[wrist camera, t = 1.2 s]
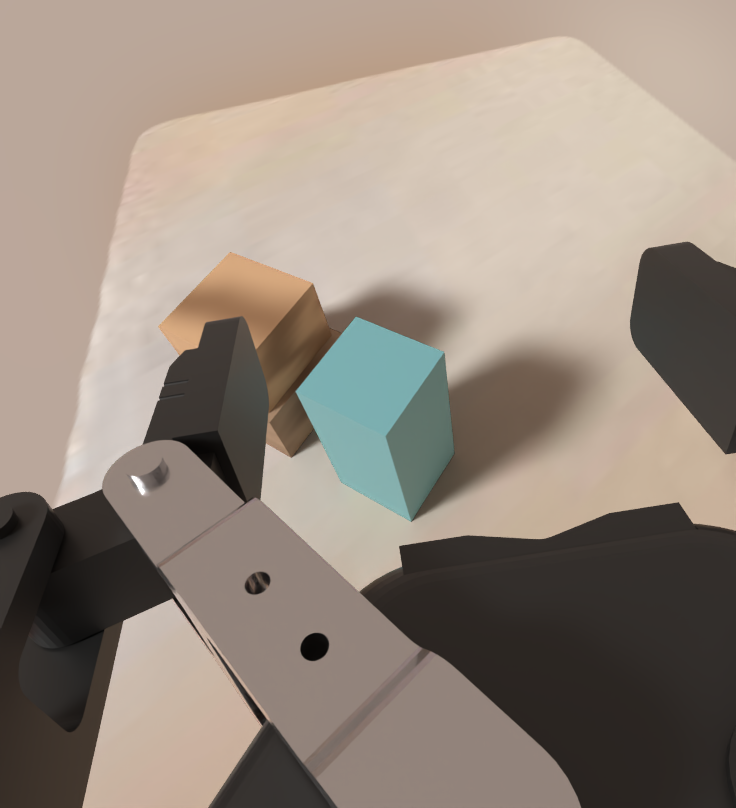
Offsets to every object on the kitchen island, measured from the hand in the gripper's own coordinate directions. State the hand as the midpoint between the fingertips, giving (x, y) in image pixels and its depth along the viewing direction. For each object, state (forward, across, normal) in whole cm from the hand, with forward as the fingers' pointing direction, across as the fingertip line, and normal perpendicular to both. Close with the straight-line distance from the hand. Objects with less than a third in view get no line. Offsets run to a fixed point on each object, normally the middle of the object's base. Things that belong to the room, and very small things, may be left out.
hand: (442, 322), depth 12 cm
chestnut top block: (+23, +9, +14) cm, 29 cm away
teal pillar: (+17, +1, +21) cm, 27 cm away
